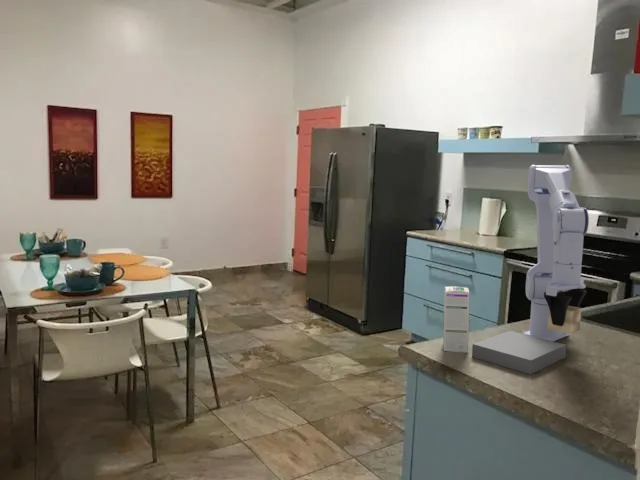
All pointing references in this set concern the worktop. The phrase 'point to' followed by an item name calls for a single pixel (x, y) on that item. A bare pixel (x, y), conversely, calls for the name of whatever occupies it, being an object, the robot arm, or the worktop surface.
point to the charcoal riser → (519, 351)
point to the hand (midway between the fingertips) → (563, 322)
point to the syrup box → (456, 319)
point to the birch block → (567, 321)
